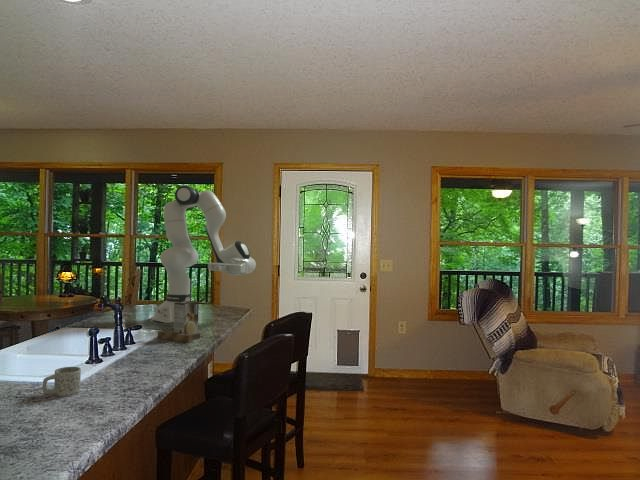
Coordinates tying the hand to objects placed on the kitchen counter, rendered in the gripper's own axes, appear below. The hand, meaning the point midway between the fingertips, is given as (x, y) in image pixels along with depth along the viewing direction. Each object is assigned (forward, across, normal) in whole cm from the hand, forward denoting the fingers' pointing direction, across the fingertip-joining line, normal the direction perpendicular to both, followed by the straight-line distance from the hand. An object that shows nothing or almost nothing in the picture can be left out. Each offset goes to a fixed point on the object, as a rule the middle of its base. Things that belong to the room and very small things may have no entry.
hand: (217, 268), depth 234 cm
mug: (+98, +23, +30) cm, 105 cm away
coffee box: (+23, +2, +30) cm, 38 cm away
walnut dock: (+24, +1, +30) cm, 38 cm away
